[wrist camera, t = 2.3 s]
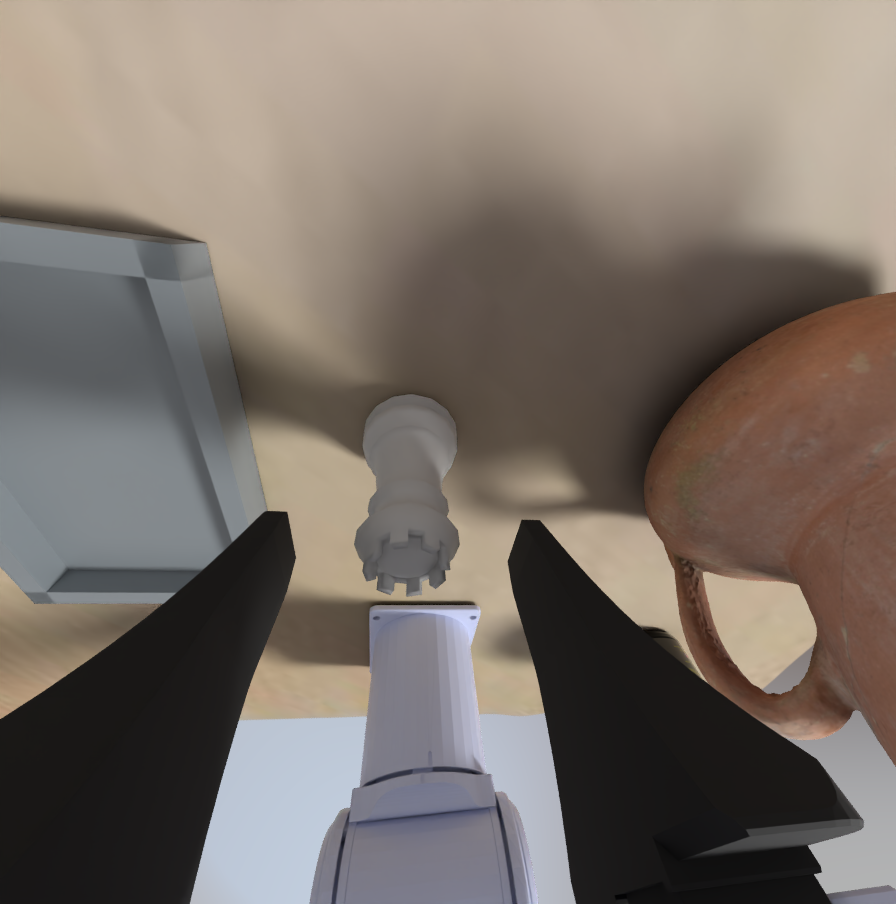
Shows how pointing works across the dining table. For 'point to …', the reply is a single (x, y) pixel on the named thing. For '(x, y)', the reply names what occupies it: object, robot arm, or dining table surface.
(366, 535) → the rook chess piece
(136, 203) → the dining table surface
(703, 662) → the ceramic jug
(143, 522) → the tray
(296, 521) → the dining table surface
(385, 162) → the dining table surface
